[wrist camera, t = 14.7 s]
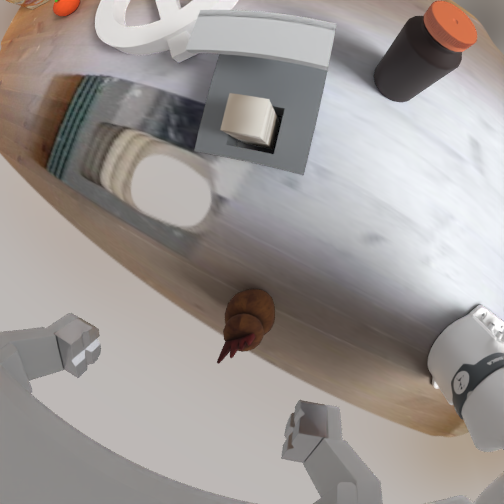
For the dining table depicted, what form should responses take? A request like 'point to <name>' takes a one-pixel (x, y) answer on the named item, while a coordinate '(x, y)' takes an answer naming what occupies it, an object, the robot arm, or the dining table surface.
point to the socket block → (264, 78)
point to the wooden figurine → (247, 321)
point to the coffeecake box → (28, 3)
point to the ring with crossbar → (153, 26)
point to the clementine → (65, 7)
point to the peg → (250, 120)
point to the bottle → (424, 51)
